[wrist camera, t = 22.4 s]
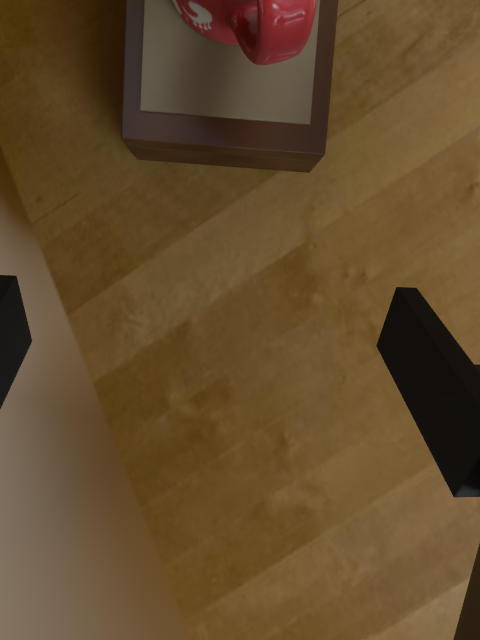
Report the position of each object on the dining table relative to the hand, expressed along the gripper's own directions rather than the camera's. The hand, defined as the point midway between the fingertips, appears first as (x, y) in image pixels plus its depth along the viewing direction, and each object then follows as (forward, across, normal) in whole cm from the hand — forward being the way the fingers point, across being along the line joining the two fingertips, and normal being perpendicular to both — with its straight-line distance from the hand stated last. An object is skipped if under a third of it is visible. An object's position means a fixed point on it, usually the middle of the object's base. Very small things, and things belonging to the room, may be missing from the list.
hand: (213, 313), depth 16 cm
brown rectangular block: (+19, +1, +6) cm, 20 cm away
